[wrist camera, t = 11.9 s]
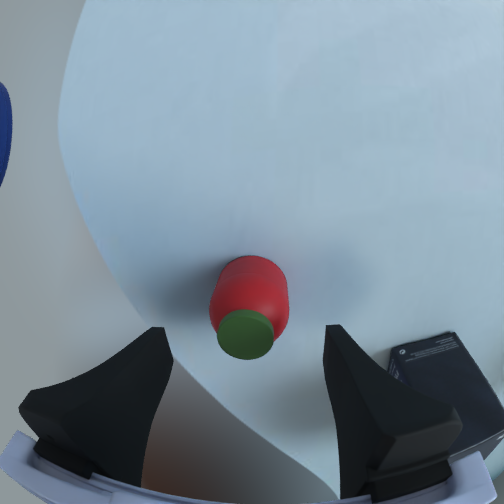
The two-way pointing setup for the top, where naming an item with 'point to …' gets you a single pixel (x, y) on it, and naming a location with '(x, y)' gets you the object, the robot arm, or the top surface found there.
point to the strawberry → (249, 307)
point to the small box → (453, 390)
